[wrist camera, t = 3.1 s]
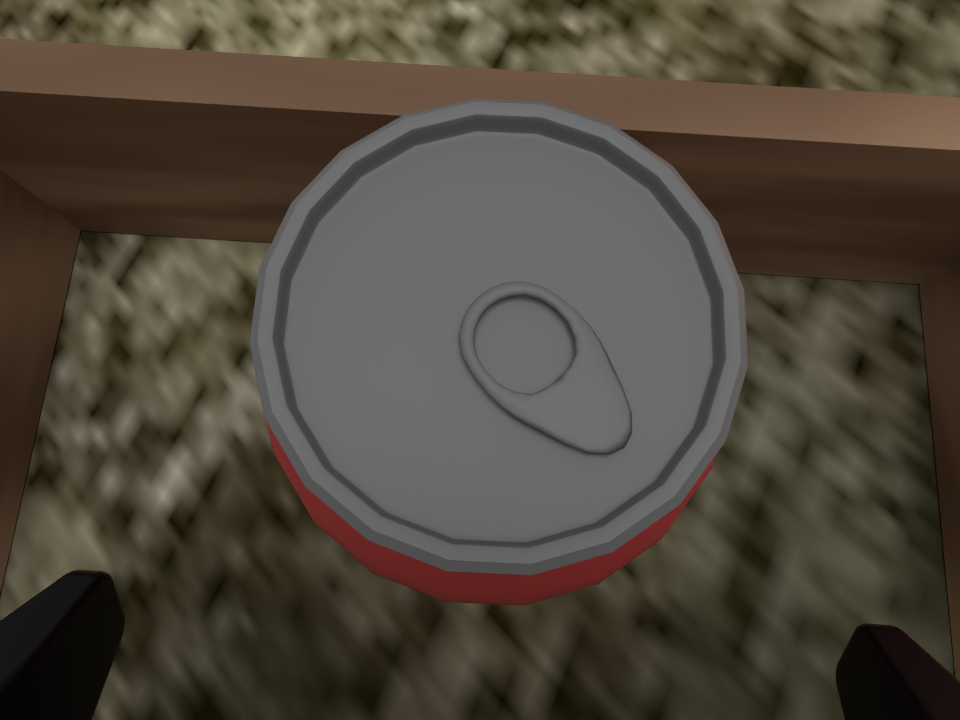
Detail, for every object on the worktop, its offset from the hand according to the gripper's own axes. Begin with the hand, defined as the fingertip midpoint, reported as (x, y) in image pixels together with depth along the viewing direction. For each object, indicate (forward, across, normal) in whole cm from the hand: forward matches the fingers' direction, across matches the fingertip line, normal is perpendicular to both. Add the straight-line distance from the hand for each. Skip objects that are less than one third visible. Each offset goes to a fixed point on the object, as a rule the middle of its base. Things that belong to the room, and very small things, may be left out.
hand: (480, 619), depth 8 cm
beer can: (+10, 0, +5) cm, 11 cm away
